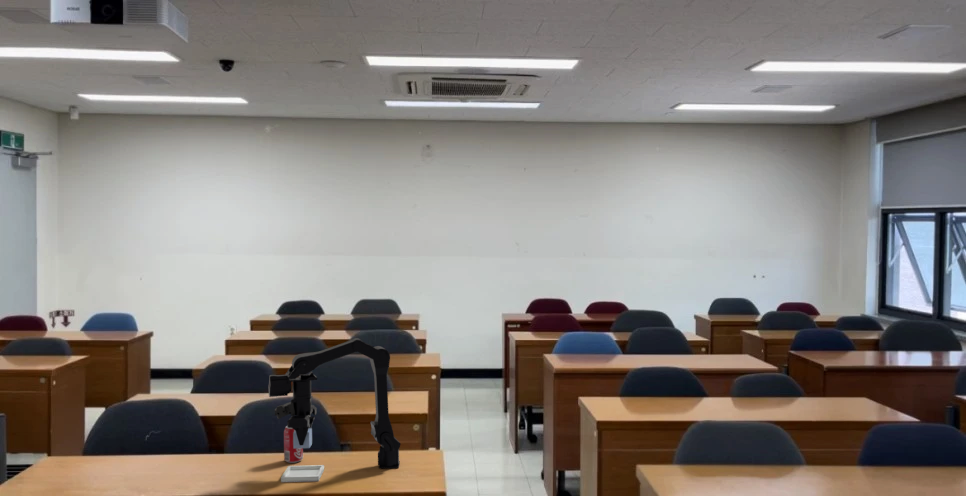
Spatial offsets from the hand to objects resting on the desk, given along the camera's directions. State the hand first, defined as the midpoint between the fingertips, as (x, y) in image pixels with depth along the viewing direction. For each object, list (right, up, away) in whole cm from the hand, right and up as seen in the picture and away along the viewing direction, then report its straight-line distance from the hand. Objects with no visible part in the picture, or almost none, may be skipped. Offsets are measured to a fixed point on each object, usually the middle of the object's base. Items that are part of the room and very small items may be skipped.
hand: (302, 442), depth 243 cm
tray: (0, -11, 0) cm, 11 cm away
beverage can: (-7, -11, +16) cm, 20 cm away
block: (0, -1, 0) cm, 1 cm away
